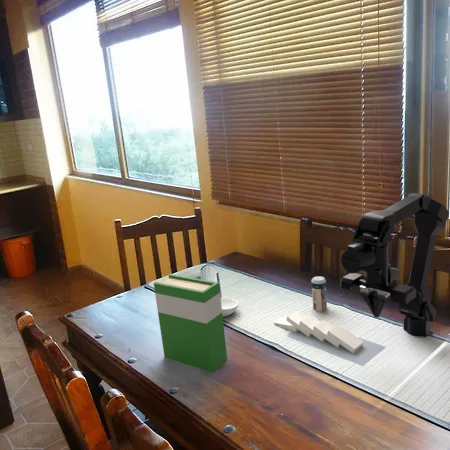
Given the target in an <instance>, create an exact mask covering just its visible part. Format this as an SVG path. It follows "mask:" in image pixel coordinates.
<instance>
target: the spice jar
mask: <svg viewBox="0 0 450 450" xmlns="http://www.w3.org/2000/svg"><path fill="white" fill-rule="evenodd" d="M310 281H311V295H312V310H313V311H315V312H318V313H321V312H325V311H327V309H328V308H327V307H328V303H327V283H326V282H327V281H326V279H325V276H322V275H321V276H319V275H317V276H314V277H312V279H311V280H310Z"/></svg>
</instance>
